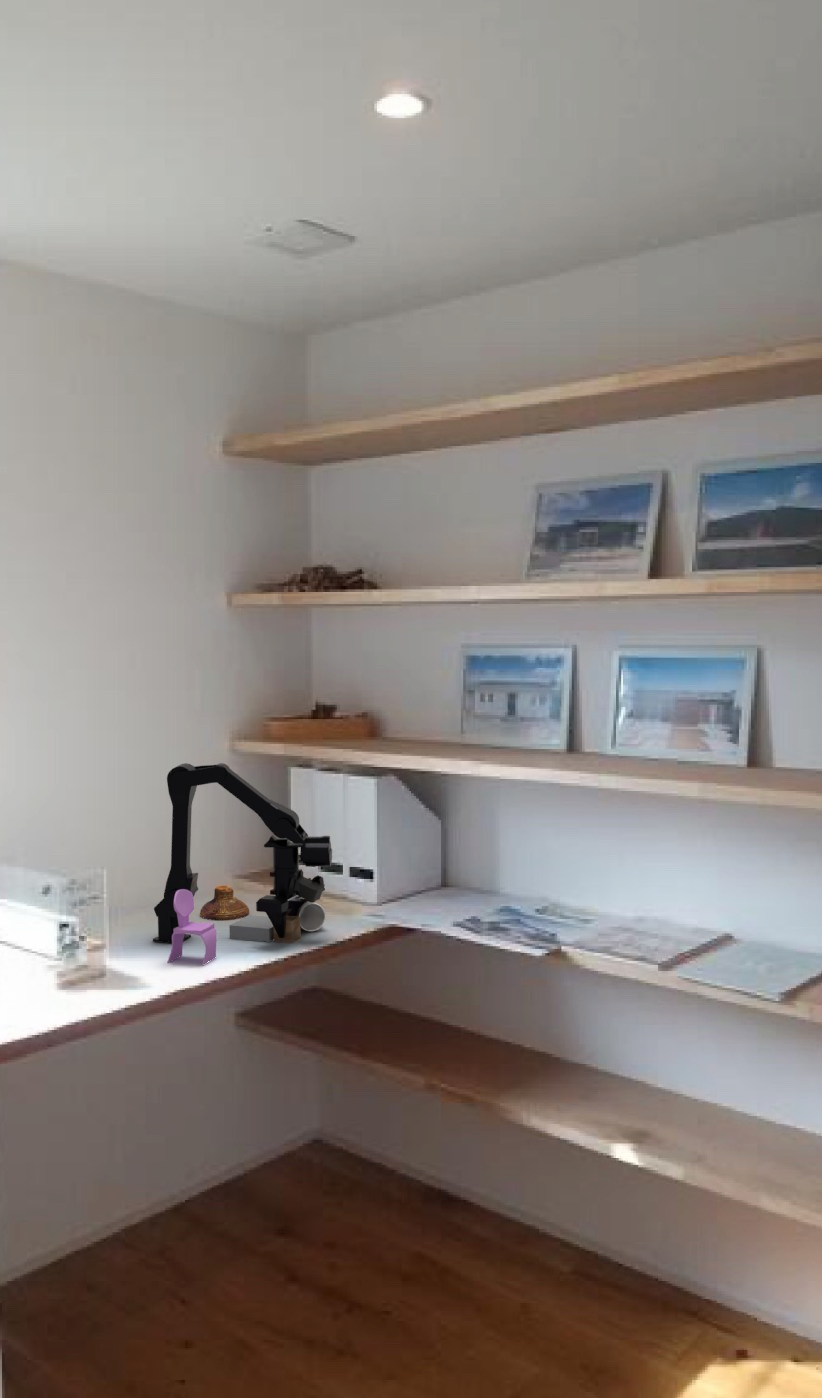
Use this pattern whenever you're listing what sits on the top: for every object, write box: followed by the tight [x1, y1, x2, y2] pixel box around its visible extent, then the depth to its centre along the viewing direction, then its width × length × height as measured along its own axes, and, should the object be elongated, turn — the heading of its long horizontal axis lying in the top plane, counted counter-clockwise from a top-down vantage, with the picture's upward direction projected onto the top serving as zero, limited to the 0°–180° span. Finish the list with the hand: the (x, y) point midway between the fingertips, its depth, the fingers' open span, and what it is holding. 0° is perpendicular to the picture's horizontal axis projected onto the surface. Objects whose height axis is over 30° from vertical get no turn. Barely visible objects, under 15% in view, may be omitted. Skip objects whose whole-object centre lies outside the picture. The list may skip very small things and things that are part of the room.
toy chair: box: [166, 889, 218, 965], centre depth 248 cm, size 8×9×15 cm
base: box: [228, 914, 274, 943], centre depth 269 cm, size 10×10×3 cm
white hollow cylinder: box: [299, 901, 326, 933], centre depth 277 cm, size 7×7×15 cm
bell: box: [199, 884, 250, 921], centre depth 288 cm, size 12×12×7 cm
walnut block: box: [273, 916, 302, 944], centre depth 264 cm, size 4×4×5 cm
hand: (286, 934), depth 264 cm, fingers open, 5 cm apart
